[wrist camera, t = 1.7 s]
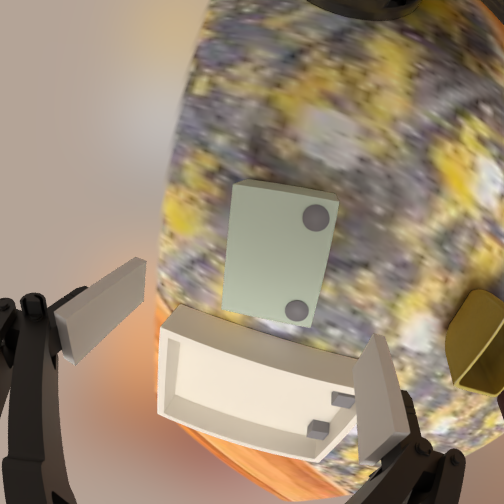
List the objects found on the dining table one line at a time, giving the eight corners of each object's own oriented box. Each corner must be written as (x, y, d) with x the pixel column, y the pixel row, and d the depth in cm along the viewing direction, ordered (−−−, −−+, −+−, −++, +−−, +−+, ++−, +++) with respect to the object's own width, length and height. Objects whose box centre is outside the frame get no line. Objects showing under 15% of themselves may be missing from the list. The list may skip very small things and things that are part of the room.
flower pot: (427, 333, 26) (451, 387, 18) (468, 268, 23) (510, 310, 15) (470, 351, 26) (496, 398, 17) (508, 295, 22) (545, 334, 14)
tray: (180, 303, 31) (160, 326, 27) (376, 363, 29) (381, 393, 24) (171, 391, 38) (157, 413, 33) (320, 436, 35) (318, 462, 30)
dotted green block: (247, 178, 25) (232, 184, 21) (334, 193, 24) (339, 202, 19) (235, 285, 29) (220, 310, 25) (311, 300, 28) (310, 329, 23)
